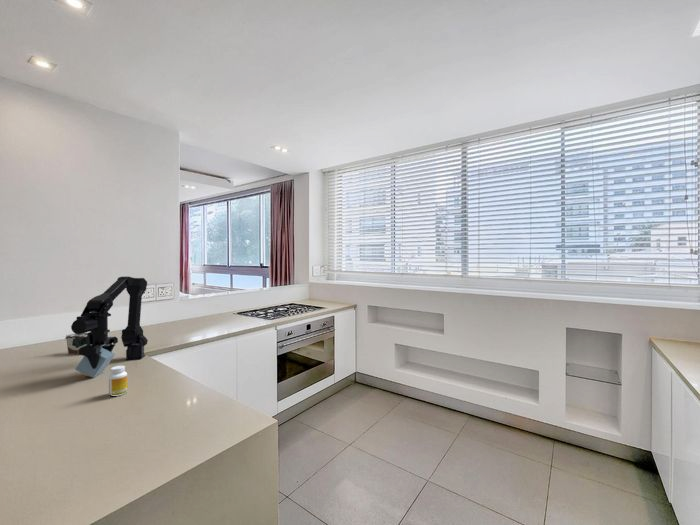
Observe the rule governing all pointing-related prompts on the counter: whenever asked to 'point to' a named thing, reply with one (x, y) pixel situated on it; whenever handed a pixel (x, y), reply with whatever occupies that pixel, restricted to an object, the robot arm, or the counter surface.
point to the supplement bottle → (118, 381)
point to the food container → (70, 339)
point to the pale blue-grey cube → (102, 364)
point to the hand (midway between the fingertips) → (99, 365)
